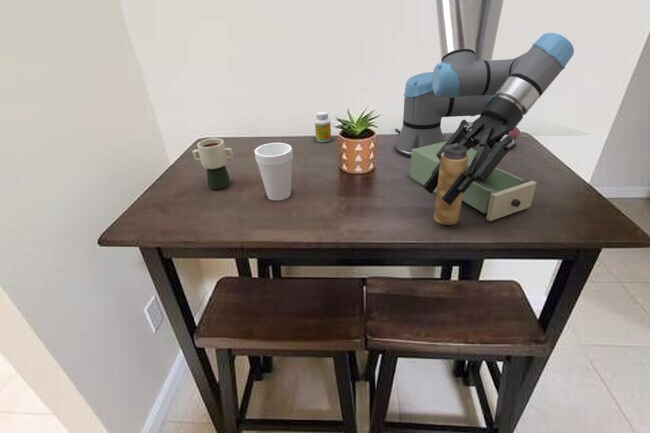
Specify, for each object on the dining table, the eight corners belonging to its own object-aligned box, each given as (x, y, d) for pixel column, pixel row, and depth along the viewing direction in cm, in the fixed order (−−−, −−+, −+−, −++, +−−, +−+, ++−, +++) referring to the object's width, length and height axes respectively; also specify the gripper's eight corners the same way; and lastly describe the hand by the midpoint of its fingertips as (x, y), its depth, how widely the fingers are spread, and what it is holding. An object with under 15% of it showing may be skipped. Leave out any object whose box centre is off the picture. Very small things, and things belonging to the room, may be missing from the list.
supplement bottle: (316, 143, 134) (314, 115, 129) (316, 137, 139) (314, 111, 134) (331, 142, 134) (330, 115, 129) (331, 136, 139) (329, 110, 134)
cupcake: (519, 151, 120) (528, 113, 113) (490, 150, 121) (498, 113, 115) (513, 141, 127) (521, 105, 120) (486, 140, 128) (493, 105, 122)
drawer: (534, 209, 89) (541, 184, 85) (494, 223, 84) (499, 198, 81) (483, 182, 101) (488, 160, 98) (446, 194, 97) (449, 171, 93)
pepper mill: (428, 216, 87) (436, 142, 78) (447, 209, 89) (457, 136, 80) (444, 227, 83) (455, 150, 74) (464, 220, 85) (476, 144, 76)
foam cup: (268, 206, 98) (261, 159, 91) (256, 192, 105) (249, 147, 98) (302, 197, 101) (297, 151, 94) (288, 183, 108) (283, 140, 101)
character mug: (240, 179, 112) (233, 136, 106) (236, 190, 106) (228, 146, 99) (204, 181, 112) (194, 139, 106) (197, 192, 106) (186, 148, 100)
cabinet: (488, 187, 101) (494, 158, 96) (447, 200, 96) (451, 170, 92) (448, 166, 113) (451, 139, 109) (409, 176, 108) (411, 149, 104)
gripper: (554, 128, 73) (475, 223, 76) (482, 106, 88) (418, 187, 91) (541, 105, 69) (458, 207, 72) (467, 86, 83) (401, 171, 86)
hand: (436, 195), depth 81 cm, fingers closed on pepper mill, 5 cm apart
